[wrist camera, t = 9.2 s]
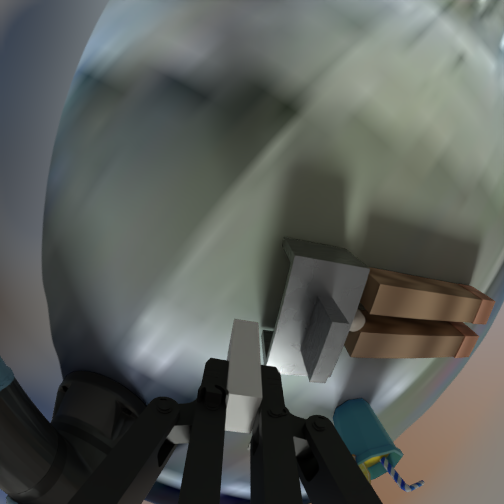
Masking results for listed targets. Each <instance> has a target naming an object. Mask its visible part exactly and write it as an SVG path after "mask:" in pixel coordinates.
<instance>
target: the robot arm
mask: <svg viewBox="0 0 504 504" xmlns="http://www.w3.org/2000/svg"><path fill="white" fill-rule="evenodd" d="M225 430H227V431H234V432H243V433H251V431H252V434H253V435H252V438H251V441H250V444H249V446H248V450H250V471H251V504H303V503H302V495H301V488H300V481H299V478H300V480H301V482H302V484H303V486H304V488H305V491H306V493H307V495H308V497H309V499H310V501H311V503H312V504H383V503H382V502H381V500H380V499H379V497H378V496H377V494H376V492H375V491H374V489H373V488H372V486H371V485H370V483H369V481H368V480H367V478H366V477H365V475H364V473H363V472H362V470H361V469H360V467H359V466H358V464H357V462H356V461H355V459H354V458H353V456H352V454H351V453H350V451H349V450H348V448H347V446H346V445H345V443H344V441H343V440H342V438H341V437H340V435H339V433H338V432H337V430H336V428H335V427H334V425H333V423H332V422H331V421H330V420H329V419H328V418H326V417H324V416H321V415H313V416H310V417H309V418H308V419H303V418H300V417H297V416H294V415H292V414H291V413H290V412H289V410H288V409H287V408H286V407H285V404H284V397H283V389H282V382H281V375H280V372H279V371H278V369H277V368H276V367H275V366H266V365H261V363H260V345H259V327H258V322H251V321H245V320H239V319H234V323H233V328H232V334H231V339H230V344H229V350H228V356H227V361H226V360H220V359H215V358H210V359H209V360H208V361H207V362H206V364H205V369H204V374H203V379H202V383H201V386H200V387H199V389H198V396H197V399H196V400H195V401H193V402H191V403H186V404H178V403H177V402H176V401H175V400H173V399H171V398H168V397H157V398H154V399H153V400H152V401H151V402H150V403H149V404H148V406H147V407H146V406H145V405H144V403H143V402H142V401H141V400H140V399H139V398H138V397H136V396H135V395H134V394H133V393H132V392H130V391H129V390H128V389H126V388H125V387H123V386H122V385H120V384H119V383H117V382H115V381H113V380H111V379H109V378H107V377H105V376H102V375H99V374H96V373H93V372H87V371H76V372H72V373H70V374H69V375H67V376H66V378H65V379H64V380H63V382H62V383H61V385H60V386H59V389H58V392H57V397H56V402H55V407H54V411H53V417H52V421H51V423H49V421H48V420H47V419H46V418H45V417H44V416H43V414H42V413H41V412H40V411H39V409H38V408H37V407H36V406H35V405H34V403H33V402H32V401H31V399H30V398H29V397H28V395H27V394H26V393H25V391H24V390H23V389H22V387H21V386H20V384H19V383H18V381H17V380H16V379H15V377H14V374H13V372H12V370H11V368H9V367H8V366H6V364H5V362H4V361H3V359H2V358H1V356H0V489H1V490H3V491H4V492H5V493H6V494H8V496H7V497H6V499H7V502H6V503H7V504H141V503H142V502H143V500H144V499H145V497H146V496H147V494H148V492H149V491H150V489H151V488H152V486H153V484H154V483H155V481H156V480H157V478H158V476H159V475H160V473H161V471H162V470H163V468H164V467H165V465H166V463H167V462H168V460H169V458H170V457H171V455H172V453H173V452H174V450H175V448H176V447H177V445H178V444H180V443H189V445H188V451H187V456H186V461H185V467H184V472H183V478H182V484H181V489H180V495H179V501H178V504H219V503H220V489H221V475H222V461H223V448H224V435H225Z"/></svg>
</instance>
